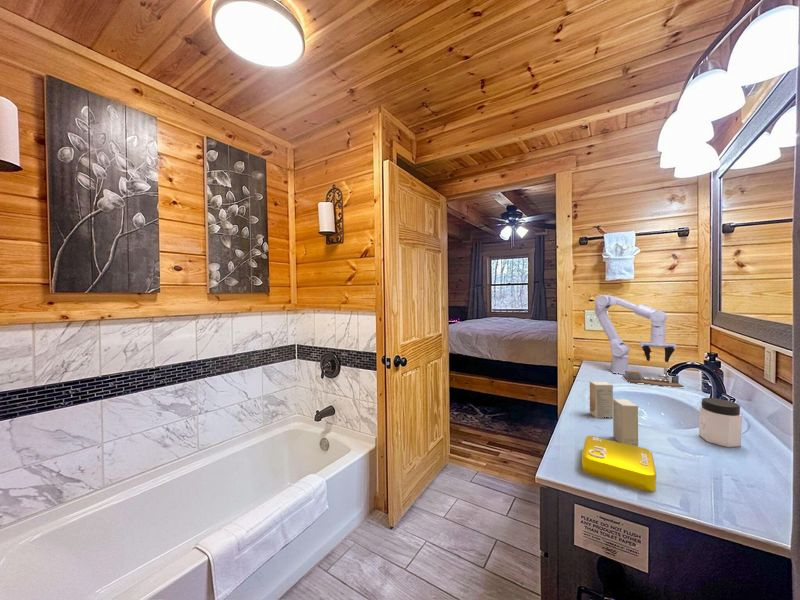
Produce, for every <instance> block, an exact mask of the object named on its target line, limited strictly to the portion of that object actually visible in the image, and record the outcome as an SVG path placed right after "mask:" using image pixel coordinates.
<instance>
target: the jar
mask: <svg viewBox="0 0 800 600" xmlns="http://www.w3.org/2000/svg"><path fill="white" fill-rule="evenodd" d="M742 419H743V415H742V414H741V406H740V404H738V403H736V402H734V401H731V400H727V399H722V398H715V397H704V398H701V405H700V406H699V420H698V421H699V424H698V425H699V426H698V435H699V437H701V438H702V439H703V440H704V441H706V442H707V443H710V444H714V445H718V446H722V447H725V448H735V447H741V445H742V421H743V420H742Z"/></svg>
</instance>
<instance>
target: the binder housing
mask: <svg viewBox="0 0 800 600" xmlns="http://www.w3.org/2000/svg"><path fill="white" fill-rule="evenodd" d="M624 375H625V377H626V378H627V379H628V380H639V381H641V377H642V374H641V373H640V371H634V370H628V371H625V374H624Z"/></svg>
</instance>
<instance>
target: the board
mask: <svg viewBox="0 0 800 600" xmlns="http://www.w3.org/2000/svg"><path fill="white" fill-rule="evenodd" d="M621 375H622V376H623V377H624V378H625V379H626V380H627V382H628V383H629V382H630V383H629V384H631V383H644V384H651V385H650V386H653V385H663V386H662V387H664V386H671V387H670V388H674V387H684V388H685V386H684V385H683V384H681V383H679V384H676V383H669V382H667V381H655V380H645V379H644V378H643V377H644V376H641V381H639V380H628V379H627V378H626V377H625V374H621ZM622 376H621V377H622ZM623 377H622V378H623ZM624 378H623V379H624ZM649 378H653V377H651V376H649ZM660 378H661V377H660ZM625 379H624V380H625ZM661 379H664V377H662V378H661ZM626 380H625V381H626Z"/></svg>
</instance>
